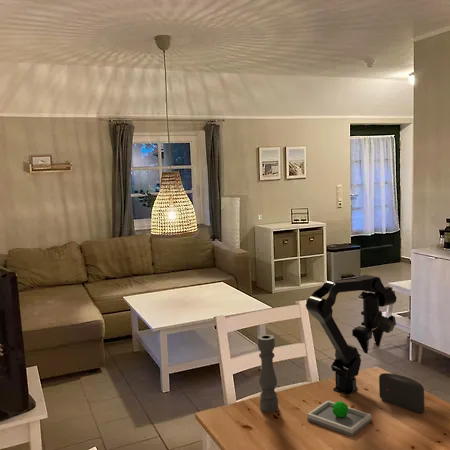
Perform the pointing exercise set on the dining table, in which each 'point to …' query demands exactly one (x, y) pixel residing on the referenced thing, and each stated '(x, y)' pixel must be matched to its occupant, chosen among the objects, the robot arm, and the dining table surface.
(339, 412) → the polyhedron
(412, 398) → the leaning round-cornered charcoal block
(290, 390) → the dining table surface
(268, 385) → the candle holder
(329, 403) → the tray
